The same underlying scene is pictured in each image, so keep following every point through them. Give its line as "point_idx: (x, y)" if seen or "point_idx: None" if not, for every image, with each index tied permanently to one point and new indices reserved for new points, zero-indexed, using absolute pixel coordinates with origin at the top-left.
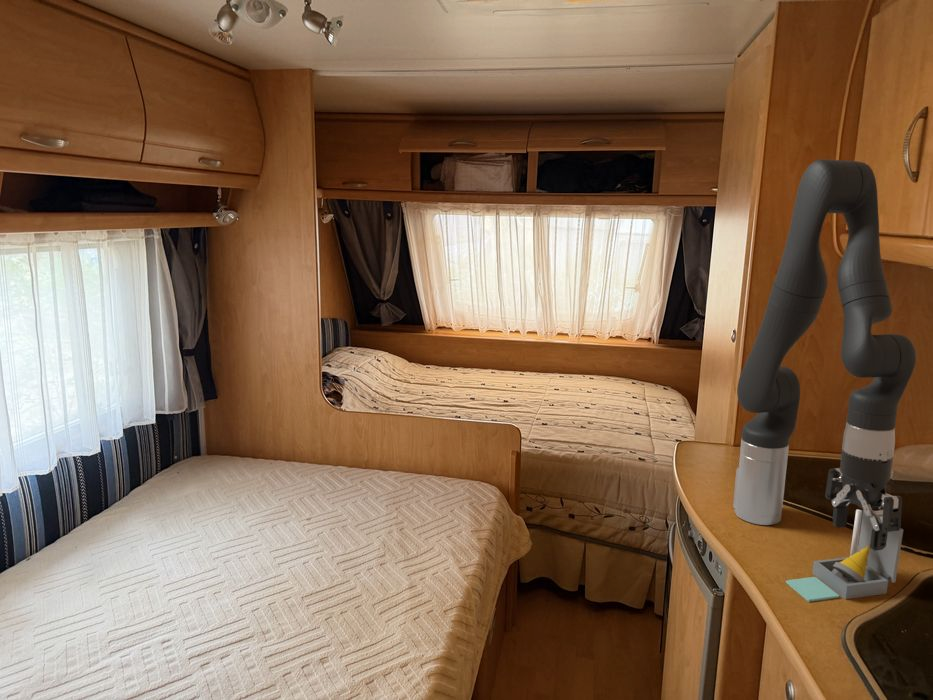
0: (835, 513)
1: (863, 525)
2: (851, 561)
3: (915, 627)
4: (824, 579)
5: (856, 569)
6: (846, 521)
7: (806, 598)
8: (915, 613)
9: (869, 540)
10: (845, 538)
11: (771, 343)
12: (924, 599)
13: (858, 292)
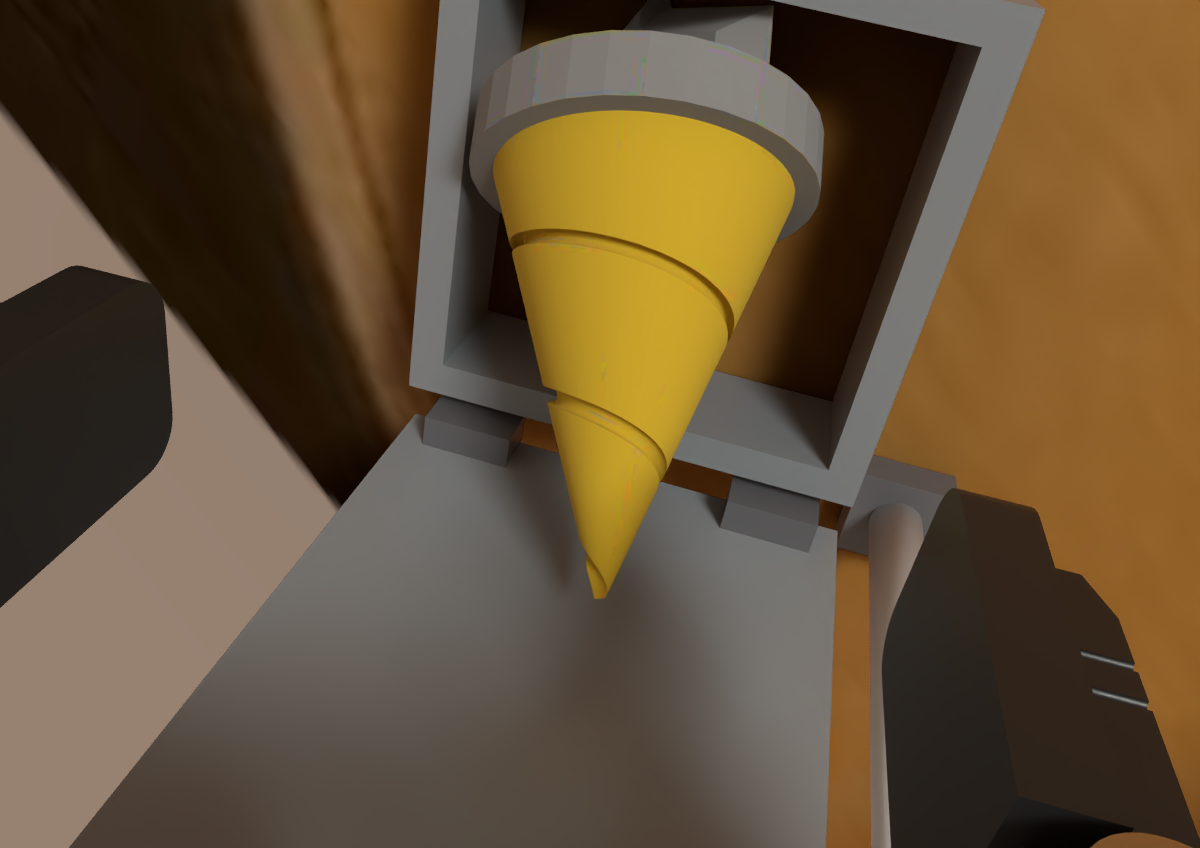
0: (1047, 683)
1: (783, 841)
2: (600, 222)
3: (46, 87)
4: None
5: (523, 180)
6: (884, 710)
7: None
8: (198, 268)
9: (674, 683)
10: (1194, 821)
11: None
12: (325, 488)
13: None
